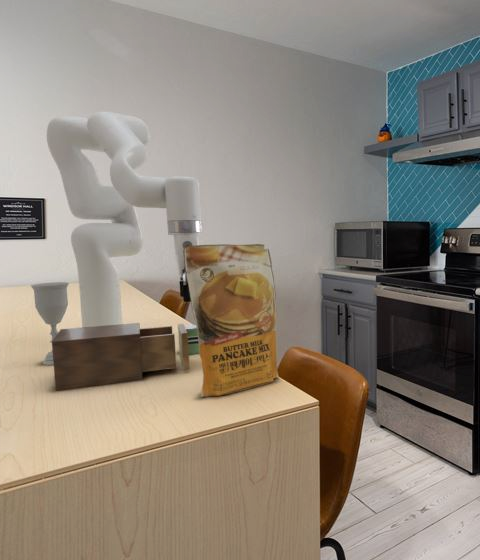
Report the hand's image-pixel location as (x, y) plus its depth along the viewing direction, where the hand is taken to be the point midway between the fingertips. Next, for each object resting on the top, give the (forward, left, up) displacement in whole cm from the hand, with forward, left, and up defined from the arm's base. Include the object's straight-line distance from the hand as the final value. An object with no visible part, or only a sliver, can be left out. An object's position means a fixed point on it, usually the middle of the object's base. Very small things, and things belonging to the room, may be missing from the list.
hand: (189, 298), depth 124 cm
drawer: (+13, -6, -13) cm, 19 cm away
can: (0, 0, -13) cm, 13 cm away
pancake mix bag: (+33, +6, -14) cm, 36 cm away
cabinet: (+13, -18, -13) cm, 26 cm away
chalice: (-5, -28, -14) cm, 32 cm away
